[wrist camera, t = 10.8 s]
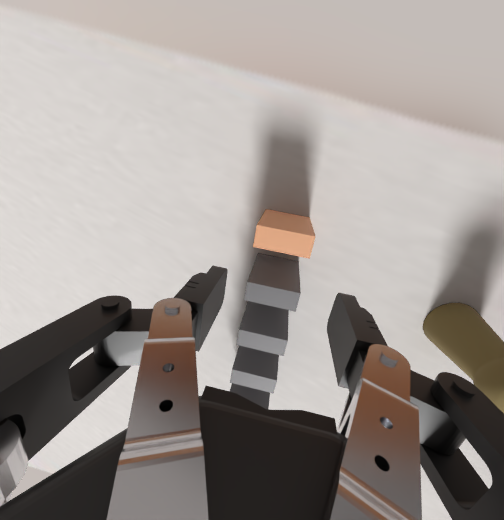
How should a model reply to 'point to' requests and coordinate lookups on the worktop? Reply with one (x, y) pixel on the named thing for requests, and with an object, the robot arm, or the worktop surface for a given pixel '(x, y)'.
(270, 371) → the domino
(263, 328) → the domino
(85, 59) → the worktop surface
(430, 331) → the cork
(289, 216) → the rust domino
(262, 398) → the domino
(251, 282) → the domino
